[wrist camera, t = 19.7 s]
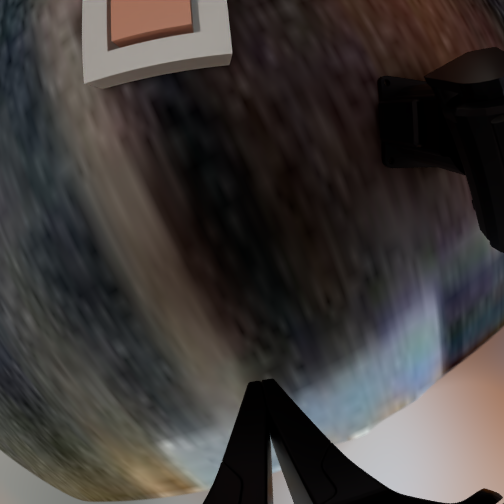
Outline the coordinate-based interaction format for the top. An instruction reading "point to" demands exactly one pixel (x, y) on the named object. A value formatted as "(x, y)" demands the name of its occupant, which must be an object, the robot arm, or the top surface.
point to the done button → (149, 20)
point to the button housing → (153, 46)
